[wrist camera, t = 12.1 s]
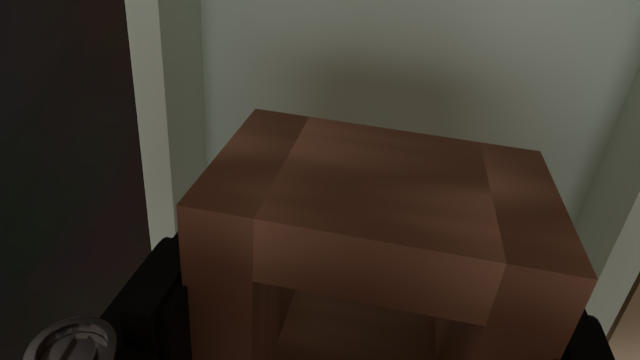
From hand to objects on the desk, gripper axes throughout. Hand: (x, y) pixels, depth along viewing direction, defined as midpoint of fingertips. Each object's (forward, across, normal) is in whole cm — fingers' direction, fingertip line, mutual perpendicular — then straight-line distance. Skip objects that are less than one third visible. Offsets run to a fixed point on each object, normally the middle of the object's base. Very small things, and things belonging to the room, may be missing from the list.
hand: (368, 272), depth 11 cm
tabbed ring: (+1, 0, +1) cm, 2 cm away
